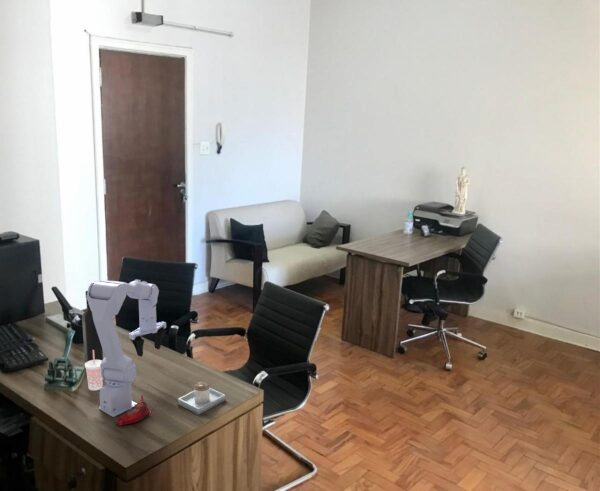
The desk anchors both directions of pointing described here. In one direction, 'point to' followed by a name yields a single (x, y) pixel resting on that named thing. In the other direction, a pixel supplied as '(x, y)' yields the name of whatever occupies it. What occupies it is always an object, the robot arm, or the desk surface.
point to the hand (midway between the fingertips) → (148, 352)
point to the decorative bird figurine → (135, 413)
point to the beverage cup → (94, 374)
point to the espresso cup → (202, 392)
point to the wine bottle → (90, 336)
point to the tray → (191, 405)
